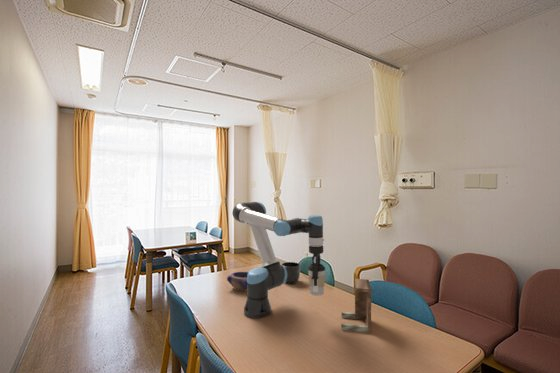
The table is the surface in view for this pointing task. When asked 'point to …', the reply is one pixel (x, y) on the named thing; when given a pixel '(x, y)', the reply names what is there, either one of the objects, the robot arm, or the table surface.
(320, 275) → the coffee cup
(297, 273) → the planter
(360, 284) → the wooden bookend
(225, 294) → the table surface
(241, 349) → the table surface
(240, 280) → the bowl
